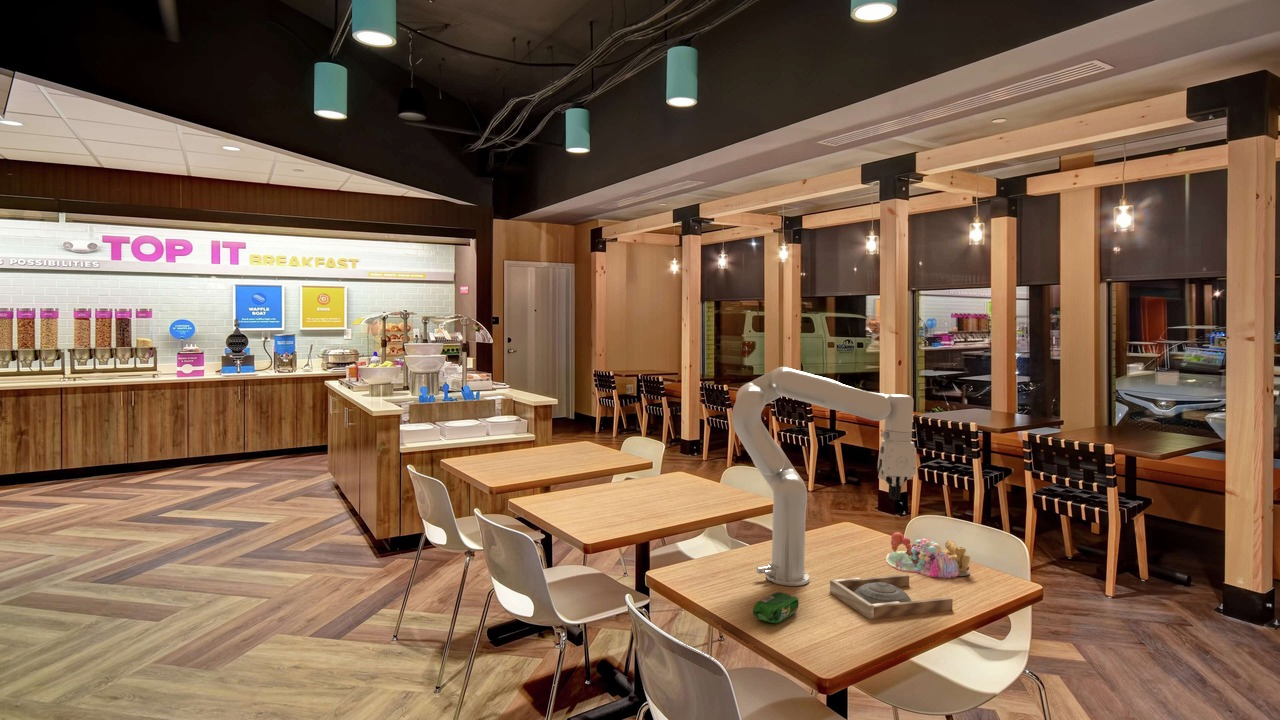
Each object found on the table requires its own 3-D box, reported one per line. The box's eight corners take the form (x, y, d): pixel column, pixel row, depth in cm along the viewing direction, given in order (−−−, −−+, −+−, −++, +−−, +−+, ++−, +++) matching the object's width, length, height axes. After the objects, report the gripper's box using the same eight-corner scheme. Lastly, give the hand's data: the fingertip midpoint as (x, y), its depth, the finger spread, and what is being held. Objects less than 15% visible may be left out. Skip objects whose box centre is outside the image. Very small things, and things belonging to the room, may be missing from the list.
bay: (869, 619, 180) (869, 605, 179) (829, 591, 198) (830, 579, 198) (952, 609, 186) (952, 597, 186) (906, 584, 205) (906, 572, 205)
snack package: (747, 623, 177) (747, 603, 177) (779, 605, 188) (779, 586, 188) (771, 631, 172) (772, 611, 172) (803, 612, 184) (803, 593, 183)
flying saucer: (847, 592, 199) (847, 573, 199) (900, 593, 198) (901, 574, 198) (861, 613, 184) (862, 592, 184) (919, 614, 183) (920, 594, 183)
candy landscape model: (955, 556, 232) (956, 528, 232) (982, 581, 209) (983, 551, 208) (878, 553, 235) (879, 526, 234) (896, 577, 211) (897, 547, 211)
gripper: (882, 438, 198) (878, 502, 199) (928, 438, 202) (924, 501, 203) (867, 434, 206) (864, 496, 207) (912, 434, 209) (909, 495, 210)
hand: (894, 498), depth 205 cm, fingers closed
